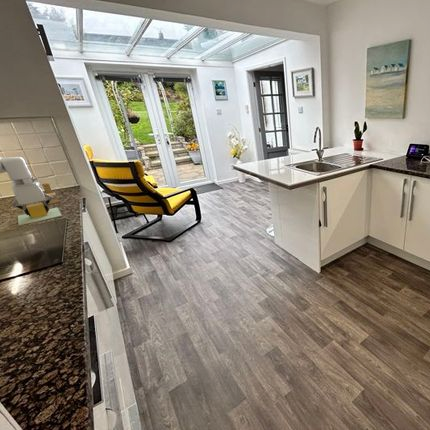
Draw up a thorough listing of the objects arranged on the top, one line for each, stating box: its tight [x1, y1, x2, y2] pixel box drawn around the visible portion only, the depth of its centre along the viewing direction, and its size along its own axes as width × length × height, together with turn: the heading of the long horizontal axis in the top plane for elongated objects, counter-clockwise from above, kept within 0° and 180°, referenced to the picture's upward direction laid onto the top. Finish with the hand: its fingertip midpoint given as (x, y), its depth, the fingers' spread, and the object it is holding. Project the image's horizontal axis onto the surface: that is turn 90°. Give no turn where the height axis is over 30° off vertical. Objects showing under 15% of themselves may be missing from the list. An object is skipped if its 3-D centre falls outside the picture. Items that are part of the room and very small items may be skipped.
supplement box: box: [40, 181, 54, 194], centre depth 171 cm, size 3×3×10 cm
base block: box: [44, 192, 60, 205], centre depth 162 cm, size 7×7×5 cm
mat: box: [17, 207, 63, 227], centre depth 141 cm, size 20×16×1 cm
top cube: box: [26, 202, 48, 219], centre depth 140 cm, size 6×6×6 cm
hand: (38, 213), depth 141 cm, fingers closed on top cube, 6 cm apart
